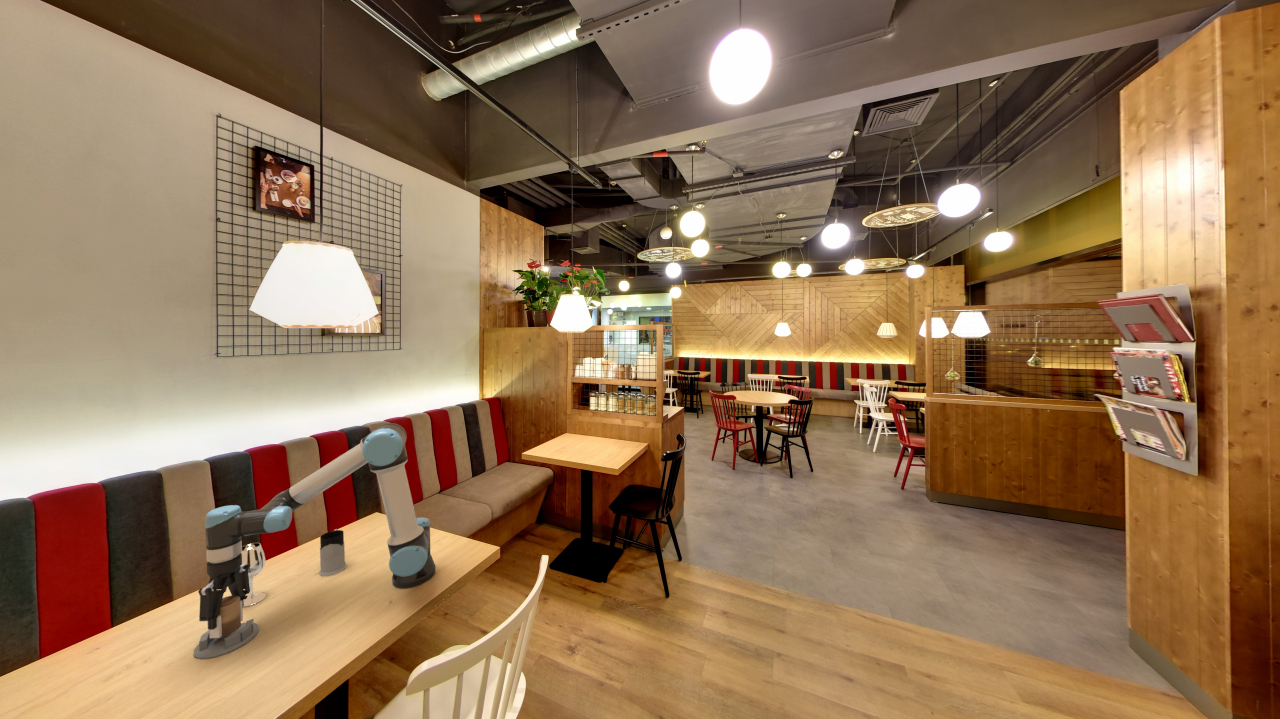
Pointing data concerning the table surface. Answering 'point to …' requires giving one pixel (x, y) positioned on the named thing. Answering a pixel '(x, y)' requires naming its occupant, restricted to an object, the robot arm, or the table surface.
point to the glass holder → (332, 553)
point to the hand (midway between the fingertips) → (226, 628)
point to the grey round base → (225, 641)
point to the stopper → (230, 614)
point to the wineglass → (253, 569)
